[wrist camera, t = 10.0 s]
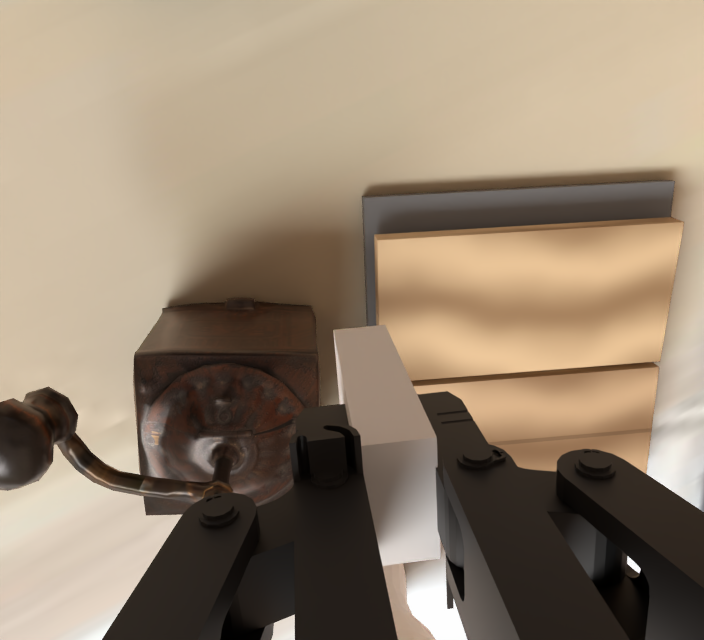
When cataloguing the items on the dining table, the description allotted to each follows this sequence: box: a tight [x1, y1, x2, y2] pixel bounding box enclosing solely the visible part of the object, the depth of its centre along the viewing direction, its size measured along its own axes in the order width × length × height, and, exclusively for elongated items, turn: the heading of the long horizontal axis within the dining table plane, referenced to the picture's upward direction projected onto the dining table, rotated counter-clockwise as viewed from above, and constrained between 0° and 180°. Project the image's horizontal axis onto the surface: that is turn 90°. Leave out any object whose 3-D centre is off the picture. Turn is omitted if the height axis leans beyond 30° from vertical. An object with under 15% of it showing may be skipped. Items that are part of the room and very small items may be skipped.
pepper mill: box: [0, 298, 320, 515], centre depth 34 cm, size 16×11×18 cm
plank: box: [374, 217, 684, 381], centre depth 41 cm, size 10×20×2 cm, turn 93°
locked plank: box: [411, 362, 659, 474], centre depth 45 cm, size 10×20×2 cm, turn 92°
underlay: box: [362, 180, 675, 363], centre depth 44 cm, size 25×21×1 cm
